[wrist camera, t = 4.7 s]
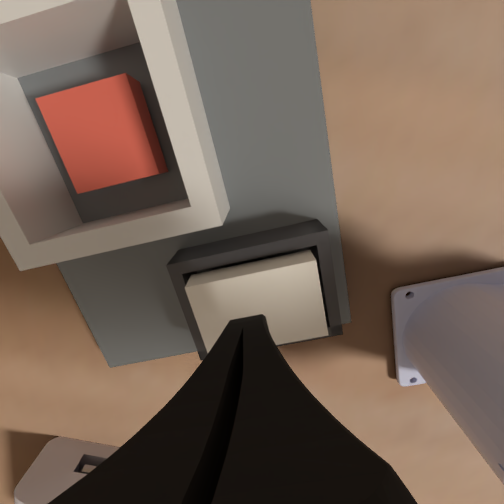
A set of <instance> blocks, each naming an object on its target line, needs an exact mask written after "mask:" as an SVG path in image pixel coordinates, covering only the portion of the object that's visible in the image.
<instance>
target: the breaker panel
mask: <svg viewBox="0 0 504 504" xmlns="http://www.w3.org/2000/svg"><path fill="white" fill-rule="evenodd" d="M123 73H127V74H128V75H130V76H131V77H133V78H134V79H136V80H137V81H139V82H140V85H141V88H142V91H143V94H144V97H145V100H146V104H147V107H148V110H149V113H150V116H151V119H152V122H153V125H154V128H155V131H156V135H157V138H158V141H159V144H160V147H161V150H162V153H163V156H164V159H165V162H166V166H167V169H168V172H166V173H162V174H158V175H154V176H150V177H146V178H142V179H138V180H134V181H130V182H126V183H122V184H118V185H114V186H110V187H106V188H102V189H98V190H93V191H89V192H84V193H80V194H77V192H76V190H75V187H74V185H73V183H72V181H71V178H70V176H69V174H68V172H67V169H66V167H65V165H64V162H63V160H62V158H61V156H60V153H59V151H58V149H57V147H56V144H55V142H54V140H53V138H52V135H51V133H50V131H49V129H48V126H47V124H46V122H45V120H44V117H43V115H42V113H41V111H40V108H39V106H38V104H37V101H36V99H35V98H39V97H42V96H46V95H50V94H53V93H57V92H60V91H64V90H67V89H71V88H74V87H78V86H81V85H85V84H88V83H92V82H95V81H99V80H102V79H106V78H109V77H113V76H116V75H120V74H123ZM0 237H1V239H2V240H3V242H4V244H5V246H6V247H7V249H8V251H9V253H10V254H11V256H12V258H13V260H14V261H15V263H16V265H17V267H18V269H19V270H20V271H23V270H28V269H32V268H37V267H41V266H45V265H50V264H54V263H56V264H57V266H58V267H59V269H60V271H61V273H62V275H63V277H64V279H65V281H66V283H67V285H68V287H69V289H70V291H71V293H72V295H73V297H74V299H75V301H76V303H77V305H78V307H79V309H80V310H81V312H82V314H83V316H84V318H85V320H86V322H87V324H88V326H89V328H90V330H91V332H92V334H93V336H94V338H95V340H96V342H97V344H98V346H99V348H100V350H101V352H102V353H103V355H104V357H105V359H106V361H107V363H108V365H109V367H110V368H111V367H116V366H121V365H127V364H132V363H137V362H143V361H148V360H153V359H159V358H164V357H169V356H175V355H180V354H185V353H191V352H196V351H198V354H199V357H200V360H204V359H205V357H206V356H207V354H208V353H207V350H206V347H205V344H204V341H203V339H202V336H201V333H200V330H199V327H198V324H197V322H196V319H195V316H194V313H193V310H192V307H191V305H190V302H189V299H188V296H187V293H186V290H185V286H186V284H187V282H188V280H189V278H190V276H191V275H193V274H198V273H202V272H207V271H212V270H216V269H221V268H226V267H231V266H235V265H240V264H245V263H249V262H254V261H259V260H263V259H268V258H273V257H278V256H282V255H287V254H292V253H296V252H301V251H306V250H310V251H311V252H312V254H313V256H314V257H315V259H316V262H317V268H318V274H319V280H320V286H321V293H322V299H323V305H324V311H325V317H326V323H327V329H328V336H323V337H317V338H312V339H306V340H301V341H296V342H290V343H285V344H279V345H276V346H282V345H288V344H293V343H299V342H304V341H309V340H315V339H320V338H326V337H331V336H336V335H342V334H343V331H342V324H345V323H351V315H350V307H349V299H348V291H347V283H346V276H345V268H344V260H343V252H342V244H341V236H340V229H339V221H338V213H337V205H336V197H335V189H334V182H333V174H332V166H331V158H330V150H329V142H328V135H327V127H326V119H325V111H324V103H323V95H322V88H321V80H320V72H319V64H318V56H317V49H316V41H315V33H314V25H313V17H312V9H311V2H310V0H0Z"/></svg>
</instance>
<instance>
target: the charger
mask: <svg viewBox="0 0 504 504" xmlns="http://www.w3.org/2000/svg"><path fill="white" fill-rule="evenodd" d="M119 448H120V447H115V446H110V445H104V444H99V443H93V442H88V441H82V440H77V439H71V438H66V437H57V438H54V439H52V440H50V441H49V442H48V443H47V444H46V445H45V447H44V448H43V449H42V451H41V452H40V453H39V455H38V456H37V458H36V459H35V460H34V462H33V463H32V465H31V466H30V467H29V469H28V470H27V472H26V473H25V474H24V476H23V477H22V479H21V480H20V481H19V483H18V484H17V486H16V487H15V490H14V501H15V504H48V503H49V502H51V501H52V500H53V499H55V498H56V497H57V496H59V495H60V494H61V493H63V492H64V491H65V490H67V489H68V488H69V487H71V486H72V485H73V484H75V483H76V482H77V481H79V480H80V479H82V478H83V477H84V476H86V475H87V474H88V473H89V472H91V471H92V470H93V469H95V468H96V467H97V466H98V465H100V464H101V463H102V462H103V461H105V460H106V459H107V458H108V457H109V456H111V455H112V454H113V453H114V452H115V451H117V450H118V449H119Z"/></svg>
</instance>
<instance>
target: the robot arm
mask: <svg viewBox="0 0 504 504" xmlns="http://www.w3.org/2000/svg"><path fill="white" fill-rule="evenodd" d="M408 292H410V294H409V295H408V296H406V294H407V293H408ZM391 304H392V319H393V334H394V348H395V363H396V378H397V381H398V383H399V384H400V385H401V386H411V385H417V384H423V383H427V384H428V385H429V387H430V388H431V389H432V391H433V392H434V393H435V395H436V396H437V397H438V399H439V400H440V401H441V403H442V404H443V405H444V407H445V408H446V409H447V411H448V412H449V413H450V414H451V416H452V417H453V418H454V420H455V421H456V422H457V424H458V425H459V426H460V428H461V429H462V430H463V432H464V433H465V434H466V436H467V437H468V438H469V440H470V441H471V442H472V444H473V445H474V446H475V448H476V449H477V450H478V452H479V453H480V454H481V455H482V457H483V458H484V459H485V461H486V462H487V463H488V465H489V466H490V467H491V469H492V470H493V471H494V473H495V474H496V475H497V477H498V478H499V479H500V481H501V482H502V483H503V485H504V267H500V268H495V269H490V270H485V271H480V272H475V273H470V274H464V275H459V276H454V277H449V278H444V279H439V280H434V281H429V282H424V283H419V284H413V285H408V286H403V287H398V288H396V289H394V290H393V291H392V293H391ZM48 504H417V502H416V501H415V499H414V498H413V496H412V495H411V493H410V492H409V490H408V489H407V488H406V486H405V485H404V483H403V482H402V481H401V479H400V478H399V476H398V475H397V474H396V472H395V471H394V470H393V468H392V467H391V465H390V464H388V463H387V462H386V461H385V460H383V459H382V458H381V457H380V456H378V455H377V454H376V453H375V452H373V451H372V450H371V449H370V448H368V447H367V446H366V445H365V444H364V443H363V442H361V441H360V440H359V439H358V438H357V437H355V436H354V435H353V434H352V433H351V432H350V431H349V430H348V429H347V428H345V427H344V426H343V425H342V424H341V423H340V422H339V421H338V420H337V419H336V418H335V417H334V416H333V415H332V414H331V413H330V412H329V411H328V410H327V409H326V408H325V407H324V406H323V405H322V404H321V403H320V402H319V401H318V400H317V399H316V398H315V397H314V396H313V395H312V394H311V393H310V391H309V390H308V389H307V388H306V387H305V386H304V384H303V383H302V382H301V381H300V380H299V378H298V377H297V376H296V374H295V373H294V372H293V370H292V369H291V368H290V366H289V365H288V363H287V362H286V360H285V359H284V357H283V356H282V354H281V353H280V351H279V349H278V348H277V346H276V344H275V342H274V340H273V339H272V336H271V334H270V332H269V328H268V324H267V320H266V316H264V315H263V314H259V315H254V316H249V317H244V318H238V319H233V320H230V321H229V322H228V324H227V325H226V327H225V328H224V330H223V332H222V333H221V335H220V336H219V338H218V339H217V341H216V342H215V344H214V345H213V347H212V348H211V350H210V351H209V353H208V354H207V356H206V357H205V359H204V360H203V361H202V363H201V364H200V365H199V367H198V368H197V369H196V370H195V372H194V373H193V374H192V376H191V377H190V378H189V380H188V381H187V382H186V383H185V384H184V385H183V387H182V388H181V389H180V390H179V391H178V392H177V393H176V394H175V396H174V397H173V398H172V399H171V400H170V401H169V402H168V403H167V404H166V405H165V406H164V407H163V408H162V409H161V410H160V411H159V412H158V413H157V414H156V415H155V416H154V417H153V418H152V419H151V420H150V421H149V422H148V423H147V424H146V425H145V426H144V427H143V428H141V429H140V430H139V431H138V432H137V433H136V434H135V435H134V436H133V437H132V438H131V439H129V440H128V441H127V442H126V443H125V444H124V445H123V446H121V447H120V448H119V449H118V450H117V451H115V452H114V453H113V454H112V455H111V456H109V457H108V458H107V459H106V460H105V461H103V462H102V463H101V464H100V465H98V466H97V467H96V468H95V469H93V470H92V471H91V472H89V473H88V474H87V475H86V476H84V477H83V478H82V479H80V480H79V481H77V482H76V483H75V484H73V485H72V486H71V487H69V488H68V489H67V490H65V491H64V492H63V493H61V494H60V495H59V496H57V497H56V498H55V499H53V500H52V501H51V502H49V503H48Z"/></svg>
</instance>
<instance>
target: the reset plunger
mask: <svg viewBox="0 0 504 504" xmlns="http://www.w3.org/2000/svg"><path fill="white" fill-rule="evenodd" d="M35 99H36V101H37V104H38V106H39V108H40V111H41V113H42V115H43V117H44V120H45V122H46V124H47V126H48V129H49V131H50V133H51V135H52V138H53V140H54V142H55V144H56V147H57V149H58V151H59V153H60V156H61V158H62V160H63V162H64V165H65V167H66V169H67V172H68V174H69V176H70V178H71V181H72V183H73V185H74V187H75V190H76V192H77V194H80V193H84V192H89V191H93V190H98V189H102V188H106V187H110V186H114V185H118V184H122V183H126V182H130V181H134V180H138V179H142V178H146V177H150V176H154V175H158V174H162V173H166V172H168V169H167V166H166V162H165V159H164V156H163V153H162V150H161V147H160V144H159V141H158V138H157V135H156V131H155V128H154V125H153V122H152V119H151V116H150V113H149V110H148V107H147V104H146V100H145V97H144V94H143V91H142V88H141V85H140V82H139V81H137V80H136V79H134V78H133V77H131V76H130V75H128V74H127V73H123V74H120V75H116V76H113V77H109V78H106V79H102V80H99V81H95V82H92V83H88V84H85V85H81V86H78V87H74V88H71V89H67V90H64V91H60V92H57V93H53V94H50V95H46V96H42V97H39V98H35Z"/></svg>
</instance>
